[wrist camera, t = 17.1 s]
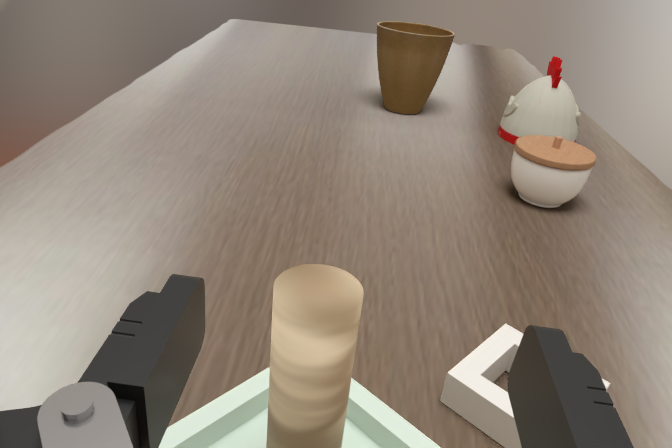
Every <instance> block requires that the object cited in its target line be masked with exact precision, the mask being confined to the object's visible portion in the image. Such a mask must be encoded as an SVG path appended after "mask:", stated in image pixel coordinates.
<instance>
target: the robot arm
mask: <svg viewBox="0 0 672 448" xmlns="http://www.w3.org/2000/svg"><path fill="white" fill-rule="evenodd" d="M204 333H205V286H204V280H203V278H198V277H191V276H184V275H177V274H172V275H171V276H170V277H169V279H168V281H167V282H166V284H165V286H164V287H163V289H162V291H161V292H160V293H156V292H148V291H147V292H146V293H144V294H143V295H141V296H140V297H139V298H137V299H136V300H134V301H133V302H131V303H130V304H129V306H128V307H127V309H126V310H125V312H124V313H123V315H122V316H121V318H120V321H119V322H117V324H116V325H115V327H114V329H113V330H112V333H111V335H109V336H108V338H107V339H106V341H105V342H104V344H103V345H102V347H101V348H100V350H99V351H98V353H97V354H96V356H95V357H94V359H93V360H92V362H91V363H90V365H89V366H88V368H87V369H86V371H85V372H84V374H83V375H82V377H81V378H80V380H79V381H78V383H75V384H71V385H68V386H66V387H63V388H61V389H59V390H58V391H56V392H55V393H53V394H52V395H51V396H50V397H48V398H47V399H46V401H45V402H44V403H43V404H42V405H40V406H36V407H31V408H23V409H15V410H7V411H0V448H159V445H160V443H161V441H162V438H163V436H164V434H165V431H166V429H167V427H168V424H169V422H170V420H171V417H172V415H173V413H174V410H175V408H176V406H177V403H178V401H179V399H180V396H181V394H182V392H183V389H184V387H185V385H186V382H187V380H188V378H189V375H190V373H191V371H192V368H193V366H194V364H195V361H196V359H197V357H198V354H199V352H200V350H201V347H202V343H203V339H204ZM508 395H509V399H510V403H511V407H512V411H513V415H514V419H515V423H516V427H517V431H518V435H519V439H520V443H521V447H522V448H634V447H633V445H632V443H631V441H630V439H629V437H628V434H627V432H626V430H625V428H624V426H623V424H622V421H621V419H620V417H619V415H618V413H617V411H616V409H615V408H613V402H612V400H611V398H610V396H609V393H607V392H606V387H605V385H604V383H603V381H602V378H601V376H600V374H599V372H598V370H597V369H596V368H595V367H594V366H593V365H592V364H591V363H590V362H589V361H588V360H587V359H586V358H585V356H584V355H583V354H580V353H573V352H572V350H571V348H570V346H569V343H568V341H567V339H566V336H565V334H564V332H563V331H562V330H560V329H554V328H547V327H539V326H532V325H529V326H528V327H527V328H526V330H525V332H524V334H523V337H522V339H521V342H520V345H519V347H518V350H517V352H516V355H515V358H514V360H513V363H512V366H511V368H510V371H509V376H508Z"/></svg>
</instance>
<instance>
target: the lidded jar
mask: <svg viewBox="0 0 672 448" xmlns="http://www.w3.org/2000/svg"><path fill="white" fill-rule="evenodd" d="M514 148H515V149H514V153H513V157H512V163H511V178H512V182H513V185H514V186H515V188H516V190H517V191H518V192H519V193H518V195H519V197H520V198H521V199H523V200H524V201H526V202H528V203H530V204H532V205H535V206H539V207H544V208H556V207H559V206H561V204H563V203H565V202H568V201H569V200H571V199H573V198H574V197H575V196H576V195H577V194H578V193H579V192H580V191H581V190H582V188H583V187H584V185H585V184H586V182H587V180H588V178H589V175H590V173H591V170H592V167H593V166H594V164H595V162H596V156H595V154H594V153H593V152H592V151H590V150H589V149H587V148H586V147H584V146H582V145H579V144H577V143H574V142H571V141H568V140H565V139H563V137H561V136H555V137H551V136H543V135H527V136H522V137H520V138H518V139H517V140H516V142H515V147H514Z"/></svg>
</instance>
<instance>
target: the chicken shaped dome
mask: <svg viewBox="0 0 672 448" xmlns="http://www.w3.org/2000/svg"><path fill="white" fill-rule="evenodd" d="M561 63H562V60H560V58H558V57H553V58H552V61H551V62H549V66H548V71H547V76H544V77H541V78H538V79H536V80H534V81H533V82H531V83H529V84H528V85H527V86H525V87H524V88H523V89H522V90H521V91H520V92H519V93H518V94H517V95H516V96H515V97H514V96H511V98H510V100H509V102H508V104H507V107H506V109H505V111H504V115H503V117H502V120H501V122H500V126H499V130H498V134H499V135H500V137H501V138H503V139H504V140H506V141H508V142H510V143H512V144H514V145H515V142H516V140H517V139H518V138H520V137H522V136H527V135H543V136H551V137H555V136H561V137H563V139H565V140H568V141H571V142H574V143H575V141H576V138H577V130H578V126H579V121H580V114H581V112H579V109H578V106H577V105H576V103H575V99H574V96H573V94H572V92H571V90H570V88H569V87H568V86H567V84H566V83H565V82H564V81H563V80H561V77H559V76H560V73H561V70H562V68H560V66H561Z"/></svg>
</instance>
